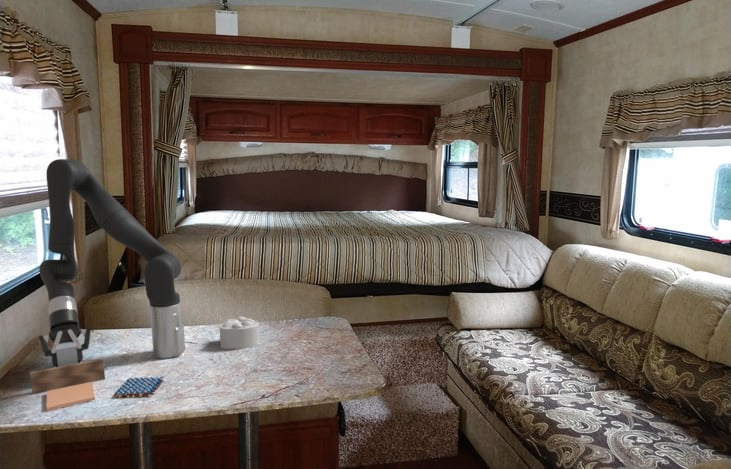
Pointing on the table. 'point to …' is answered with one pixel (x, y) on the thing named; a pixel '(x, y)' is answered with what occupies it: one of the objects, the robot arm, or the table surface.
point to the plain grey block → (66, 353)
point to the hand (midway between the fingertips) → (68, 364)
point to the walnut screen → (67, 376)
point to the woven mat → (139, 387)
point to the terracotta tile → (69, 396)
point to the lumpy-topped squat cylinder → (239, 333)
